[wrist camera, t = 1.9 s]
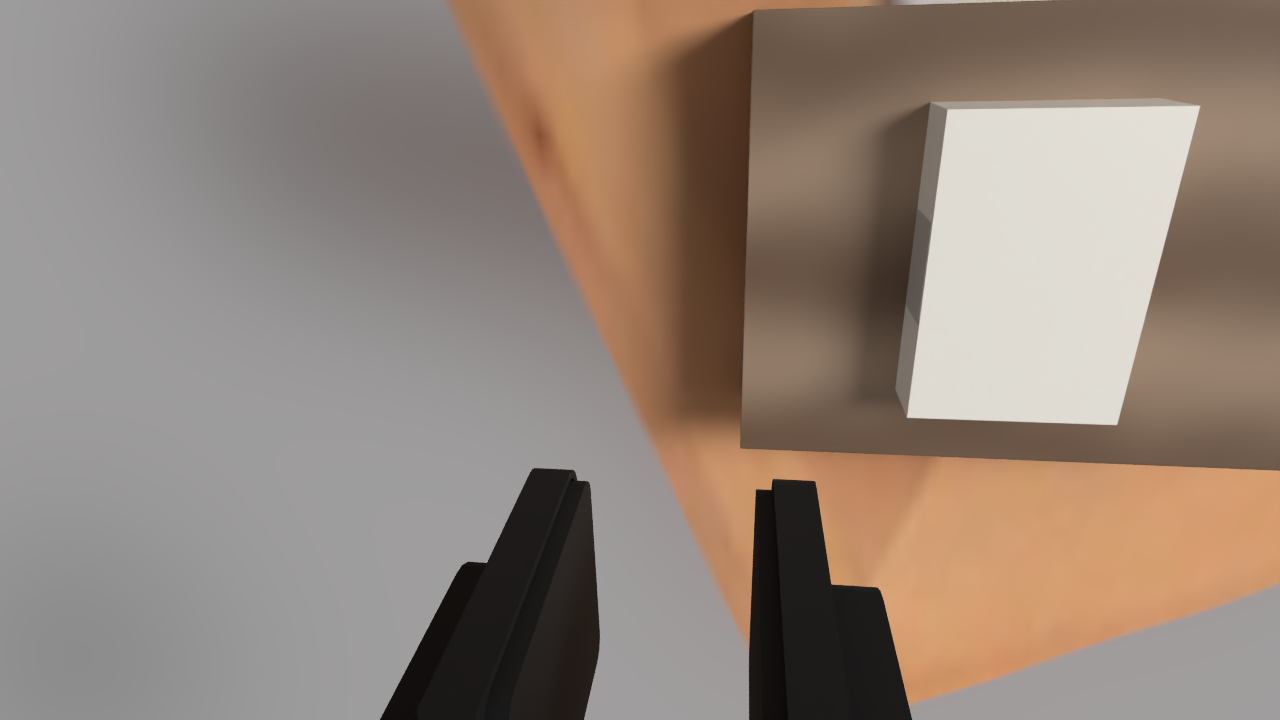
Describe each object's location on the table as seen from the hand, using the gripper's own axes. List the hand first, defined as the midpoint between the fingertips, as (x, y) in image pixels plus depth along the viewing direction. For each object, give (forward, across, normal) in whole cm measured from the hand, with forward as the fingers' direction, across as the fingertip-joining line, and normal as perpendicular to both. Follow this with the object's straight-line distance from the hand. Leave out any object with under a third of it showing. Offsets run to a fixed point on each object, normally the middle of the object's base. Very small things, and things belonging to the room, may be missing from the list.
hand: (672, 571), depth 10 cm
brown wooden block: (+19, -10, 0) cm, 22 cm away
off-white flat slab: (+14, -9, 0) cm, 17 cm away
